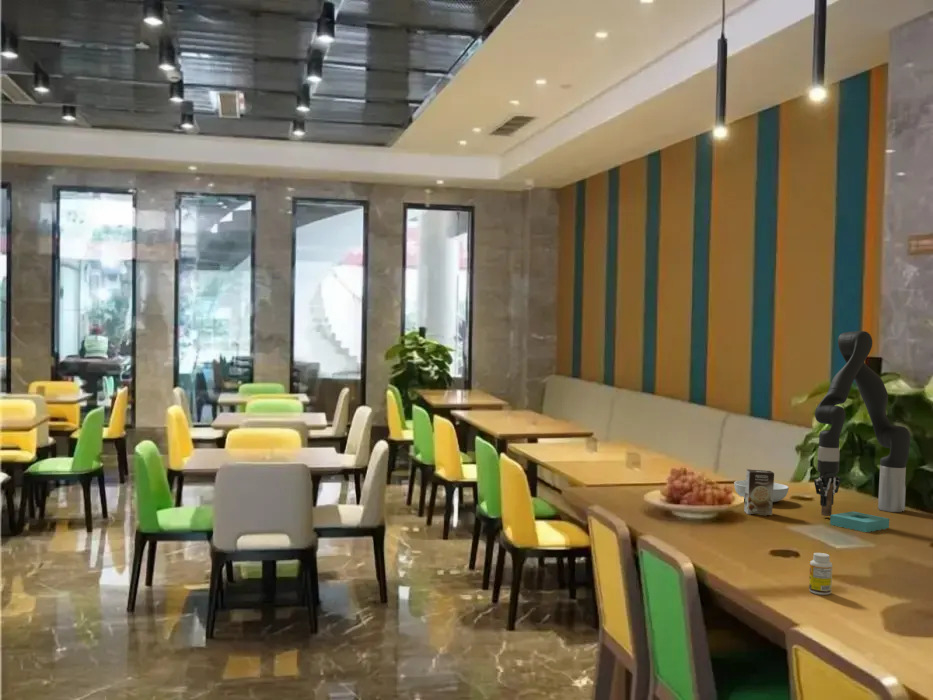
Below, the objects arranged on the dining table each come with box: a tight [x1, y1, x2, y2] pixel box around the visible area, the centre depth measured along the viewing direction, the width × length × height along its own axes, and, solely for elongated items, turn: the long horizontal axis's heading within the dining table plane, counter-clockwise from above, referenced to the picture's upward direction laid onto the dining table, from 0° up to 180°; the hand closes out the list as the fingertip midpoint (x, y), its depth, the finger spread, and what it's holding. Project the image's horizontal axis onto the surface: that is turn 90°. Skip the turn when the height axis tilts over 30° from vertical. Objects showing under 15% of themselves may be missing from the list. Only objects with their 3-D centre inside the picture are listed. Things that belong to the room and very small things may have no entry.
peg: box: [821, 483, 833, 517], centre depth 349 cm, size 4×4×12 cm
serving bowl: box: [733, 479, 790, 503], centre depth 379 cm, size 21×21×7 cm
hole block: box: [829, 511, 890, 533], centre depth 336 cm, size 14×14×4 cm
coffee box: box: [743, 468, 775, 516], centre depth 354 cm, size 9×6×16 cm
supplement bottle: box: [808, 552, 833, 596], centre depth 250 cm, size 6×6×10 cm
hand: (826, 505), depth 349 cm, fingers closed on peg, 3 cm apart
